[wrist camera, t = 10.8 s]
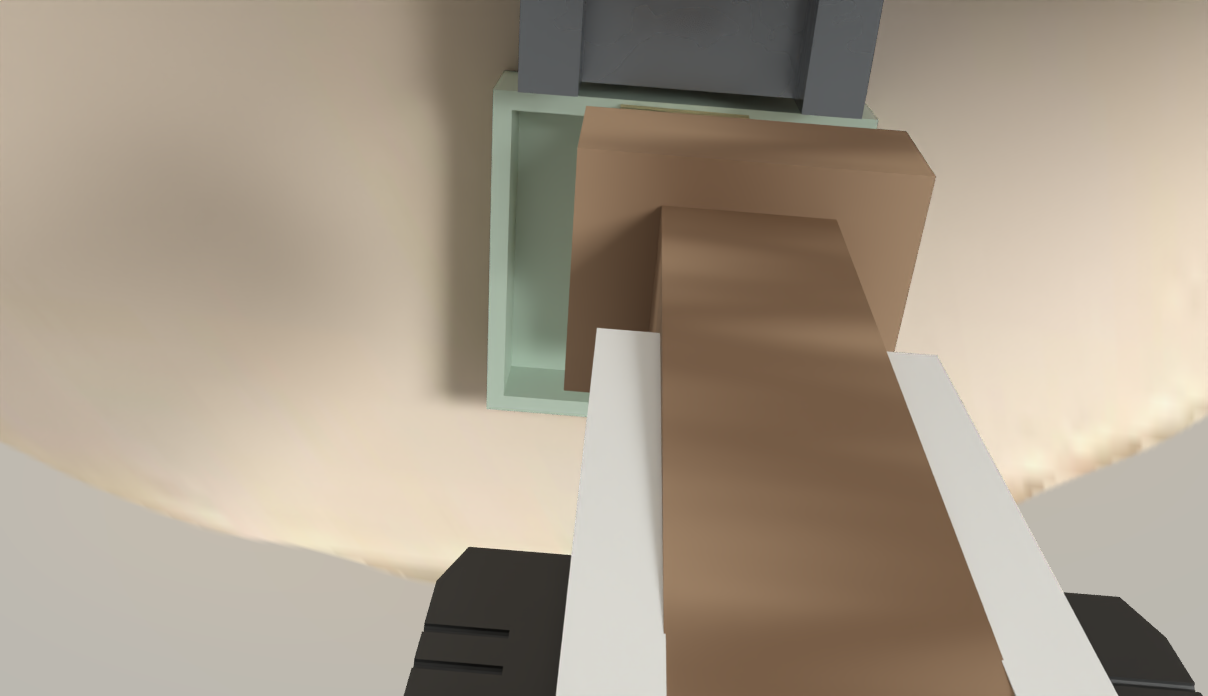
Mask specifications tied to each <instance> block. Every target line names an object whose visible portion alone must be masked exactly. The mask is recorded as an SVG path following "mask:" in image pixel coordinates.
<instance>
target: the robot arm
mask: <svg viewBox="0 0 1208 696" xmlns="http://www.w3.org/2000/svg"><path fill="white" fill-rule="evenodd" d="M887 354H888V357H889V359H890V362H891V364H892V367H893V370H894V372H895V375H896V378H897V380H898V383H899V385H900V388H901V391H902V393H903V396H904V399H905V401H906V404H907V407H908V409H909V412H910V414H911V417H912V420H913V422H914V425H915V428H916V430H917V433H918V436H919V438H920V441H921V443H922V446H923V449H924V451H925V454H926V457H927V459H928V462H929V465H930V467H931V470H932V472H933V475H934V478H935V480H936V483H937V486H938V488H939V491H940V494H941V496H942V499H943V501H944V504H945V507H946V509H947V512H948V515H949V517H950V520H951V523H952V525H953V528H954V530H955V533H956V536H957V538H958V541H959V544H960V546H961V549H962V552H963V554H964V557H965V559H966V562H967V565H968V567H969V570H970V573H971V575H972V578H973V581H974V583H975V586H976V588H977V591H978V594H979V596H980V599H981V602H982V604H983V607H984V609H985V612H986V615H987V617H988V620H989V623H990V625H991V628H992V631H993V633H994V636H995V638H996V641H997V644H998V646H999V649H1000V652H1001V654H1002V657H1003V660H1002V663H1003V666H1004V668H1005V671H1006V674H1007V676H1008V679H1009V682H1010V684H1011V687H1012V690H1013V692H1014V695H1015V696H1202V694H1201V693H1199V692H1195V690H1194V685H1195V683H1194V681H1193V680H1192V678H1191V677H1190V675H1189V673H1188V672H1187V670H1186V669H1185V667H1184V665H1183V664H1182V662H1181V661H1180V659H1179V657H1178V656H1177V654H1176V653H1175V651H1174V650H1173V648H1172V646H1171V645H1170V643H1169V642H1168V640H1167V638H1166V637H1165V636H1164V635H1162V634H1161V633H1160V632H1159V631H1158V630H1157V629H1156V628H1154V627H1153V626H1152V625H1151V624H1150V623H1149V622H1147V621H1146V620H1145V619H1144V618H1143V617H1142V616H1141V615H1140V614H1138V613H1137V612H1136V611H1135V610H1134V609H1133V608H1131V607H1130V606H1129V605H1128V604H1127V603H1126V602H1125V601H1123V600H1122V599H1121V598H1120V597H1112V596H1101V595H1088V594H1077V593H1065V592H1064V593H1063V591H1062V589H1061V587H1060V586H1059V584H1058V582H1057V580H1056V578H1055V576H1054V574H1053V572H1052V570H1051V568H1050V566H1049V565H1048V563H1047V561H1046V559H1045V557H1044V555H1043V553H1042V552H1041V549H1040V548H1039V546H1038V544H1037V542H1036V540H1035V538H1034V536H1033V534H1032V533H1031V531H1030V529H1029V527H1028V525H1027V523H1026V521H1025V519H1024V518H1023V516H1022V514H1021V512H1020V510H1019V508H1018V506H1017V504H1016V502H1015V501H1014V499H1013V497H1012V495H1011V493H1010V491H1009V489H1008V487H1007V485H1006V484H1005V482H1004V480H1003V478H1002V476H1001V474H1000V472H999V470H998V469H997V467H996V465H995V463H994V461H993V459H992V457H991V455H990V453H989V452H988V450H987V448H986V446H985V444H984V442H983V440H982V438H981V437H980V435H979V433H978V431H977V429H976V427H975V425H974V423H973V421H972V420H971V418H970V416H969V414H968V412H967V410H966V408H965V406H964V405H963V403H962V401H961V399H960V397H959V395H958V393H957V391H956V389H955V388H954V386H953V384H952V382H951V380H950V378H949V376H948V374H947V373H946V371H945V369H944V367H943V365H942V363H941V361H940V359H939V357H938V356H937V355H925V354H913V353H900V352H888V351H887ZM404 696H667V693H666V634H664V623H663V538H662V453H661V368H660V333H654V332H641V331H629V330H617V329H604V328H597V332H596V341H595V350H594V359H593V368H592V377H591V386H590V395H589V404H588V413H587V421H586V430H585V439H584V448H583V457H582V466H581V475H580V484H579V493H578V502H577V511H576V520H575V529H574V538H573V547H572V555H562V554H550V553H538V552H525V551H513V550H501V549H489V548H477V547H468V548H467V549H466V550H465V551H464V553H463V554H462V555H461V556H460V557H459V558H458V559H457V560H456V561H455V562H454V563H453V564H452V565H451V566H450V567H449V568H448V569H447V570H446V572H445V573H444V574H443V575H442V576H441V577H440V578H439V579H438V580H437V581H436V585H435V588H434V592H433V596H432V599H431V602H430V606H429V610H428V613H427V617H426V620H425V625H424V632H422V634H421V638H420V641H419V645H418V648H417V651H416V655H415V659H414V667H413V668H412V669H411V673H410V676H409V679H408V683H407V686H406V690H405V693H404Z"/></svg>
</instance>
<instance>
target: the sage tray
mask: <svg viewBox="0 0 1208 696" xmlns="http://www.w3.org/2000/svg"><path fill="white" fill-rule="evenodd" d="M621 104H625V105H636V106H648V107H659V108H671V109H682V110H694V111H705V112H717V113H728V114H740V115H749V118H750V119H757V120H770V121H782V122H795V123H807V124H820V125H832V126H845V127H858V128H870V129H877V124H878V119H877V117H876V116H875V115H874V114H873V112H872V111H871V110H870V108H869V107H868V106H867V104H866V103H865V105H864V110H863V116H862V119H852V118H839V117H826V116H814V115H802V114H801V113H800V111H799V109H798V107H797V105H796V103H795V101H794V99H793V98H783V97H770V96H757V95H744V94H732V93H719V92H706V91H694V90H681V89H668V88H656V87H643V86H630V85H617V84H605V83H592V82H582V83H581V87H580V90H579V94H578V97H573V96H560V95H547V94H535V93H522V92H518V72H517V71H504V72H503V74H502V76H501V77H500V79H499V81H498V82H497V84H496V86H495V87H494V89H493V122H492V170H491V218H490V266H489V314H488V363H487V409H494V410H507V411H519V412H531V413H544V414H556V415H569V416H581V417H587V413H588V404H589V395H590V393H588V392H576V391H564V377H565V359H566V341H567V323H568V305H569V288H570V270H571V252H572V234H573V217H574V199H575V181H576V163H577V147H578V143H579V138H580V133H581V128H582V123H583V119H584V114H585V109H586V106H594V107H607V108H619V109H620V106H621Z"/></svg>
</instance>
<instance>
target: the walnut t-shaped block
mask: <svg viewBox="0 0 1208 696" xmlns="http://www.w3.org/2000/svg"><path fill="white" fill-rule="evenodd" d="M935 178H936V176H935V175H934V173H933V171H932V170H931V168H930V167H929V165H928V164H927V162H926V161H925V159H924V158H923V156H922V155H921V153H920V152H919V150H918V149H917V147H916V145H915V144H914V142H913V141H912V139H911V138H910V136H909V135H908V133H907V132H906V131H895V130H883V129H870V128H858V127H845V126H832V125H820V124H807V123H795V122H782V121H770V120H757V119H745V118H732V117H720V116H707V115H694V114H682V113H669V112H657V111H644V110H632V109H619V108H607V107H594V106H586V109H585V114H584V119H583V123H582V128H581V133H580V138H579V143H578V147H577V163H576V181H575V199H574V217H573V234H572V252H571V270H570V288H569V305H568V323H567V341H566V359H565V377H564V391H576V392H588V393H590V386H591V377H592V368H593V359H594V350H595V341H596V332H597V328H604V329H617V330H629V331H641V332H654V333H660V368H661V453H662V538H663V623H664V634H666V693H667V696H1015V695H1014V692H1013V690H1012V687H1011V684H1010V682H1009V679H1008V676H1007V674H1006V671H1005V668H1004V666H1003V663H1002V660H1003V657H1002V654H1001V652H1000V649H999V646H998V644H997V641H996V638H995V636H994V633H993V631H992V628H991V625H990V623H989V620H988V617H987V615H986V612H985V609H984V607H983V604H982V602H981V599H980V596H979V594H978V591H977V588H976V586H975V583H974V581H973V578H972V575H971V573H970V570H969V567H968V565H967V562H966V559H965V557H964V554H963V552H962V549H961V546H960V544H959V541H958V538H957V536H956V533H955V530H954V528H953V525H952V523H951V520H950V517H949V515H948V512H947V509H946V507H945V504H944V501H943V499H942V496H941V494H940V491H939V488H938V486H937V483H936V480H935V478H934V475H933V472H932V470H931V467H930V465H929V462H928V459H927V457H926V454H925V451H924V449H923V446H922V443H921V441H920V438H919V436H918V433H917V430H916V428H915V425H914V422H913V420H912V417H911V414H910V412H909V409H908V407H907V404H906V401H905V399H904V396H903V393H902V391H901V388H900V385H899V383H898V380H897V378H896V375H895V372H894V370H893V367H892V364H891V362H890V359H889V357H888V354H887V351H888V352H894V351H895V346H896V342H897V338H898V334H899V330H900V325H901V321H902V317H903V313H904V309H905V304H906V300H907V296H908V292H909V288H910V283H911V279H912V275H913V271H914V267H915V262H916V258H917V254H918V250H919V246H920V241H921V237H922V233H923V229H924V225H925V220H926V216H927V212H928V208H929V204H930V199H931V195H932V191H933V187H934V183H935Z"/></svg>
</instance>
